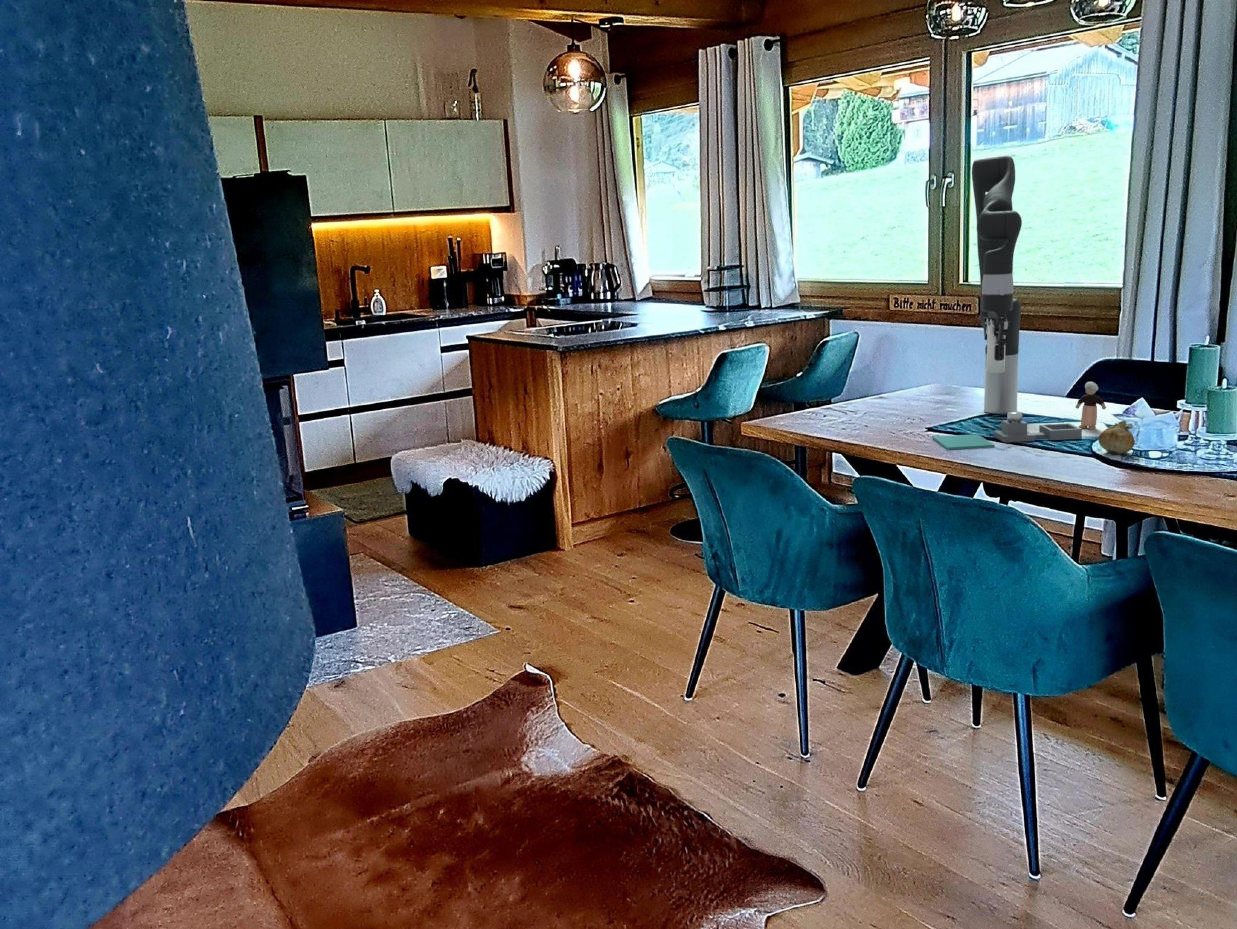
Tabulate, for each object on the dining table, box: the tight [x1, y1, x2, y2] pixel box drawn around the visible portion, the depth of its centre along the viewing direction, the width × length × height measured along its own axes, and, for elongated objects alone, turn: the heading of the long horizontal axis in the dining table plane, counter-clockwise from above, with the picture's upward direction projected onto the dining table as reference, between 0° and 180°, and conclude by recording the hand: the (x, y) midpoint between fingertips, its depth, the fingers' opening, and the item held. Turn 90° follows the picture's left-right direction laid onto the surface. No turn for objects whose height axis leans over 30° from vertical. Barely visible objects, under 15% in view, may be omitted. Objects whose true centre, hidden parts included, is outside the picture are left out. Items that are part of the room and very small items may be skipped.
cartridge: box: [986, 325, 1006, 373], centre depth 274 cm, size 4×4×13 cm
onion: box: [1098, 420, 1136, 455], centre depth 259 cm, size 8×8×8 cm
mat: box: [932, 433, 996, 451], centre depth 280 cm, size 14×12×1 cm
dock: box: [993, 419, 1083, 443], centre depth 281 cm, size 8×20×4 cm, turn 89°
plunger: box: [1006, 411, 1023, 423], centre depth 281 cm, size 4×4×4 cm
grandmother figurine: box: [1075, 381, 1107, 430], centre depth 287 cm, size 8×4×13 cm, turn 62°
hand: (995, 358), depth 275 cm, fingers closed on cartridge, 4 cm apart
